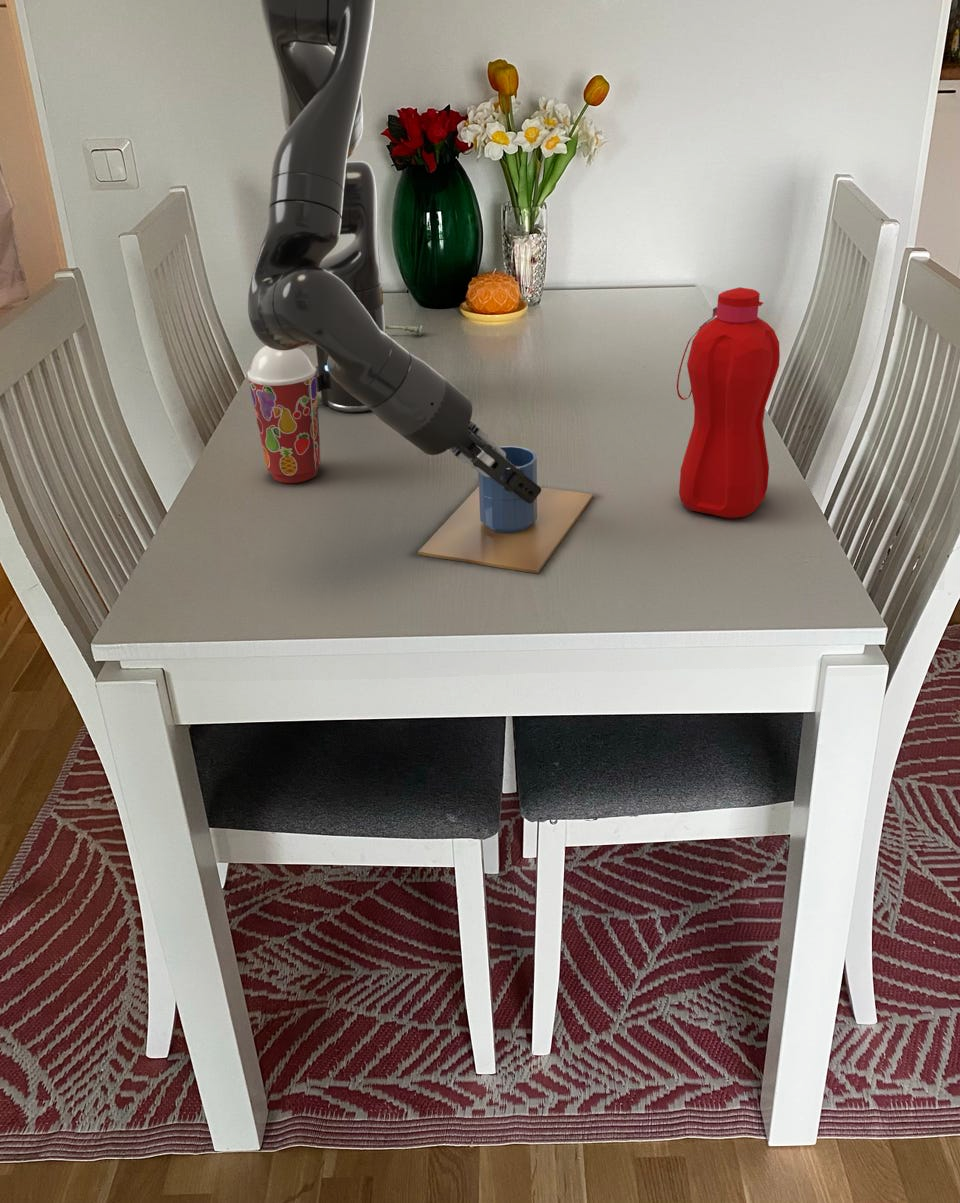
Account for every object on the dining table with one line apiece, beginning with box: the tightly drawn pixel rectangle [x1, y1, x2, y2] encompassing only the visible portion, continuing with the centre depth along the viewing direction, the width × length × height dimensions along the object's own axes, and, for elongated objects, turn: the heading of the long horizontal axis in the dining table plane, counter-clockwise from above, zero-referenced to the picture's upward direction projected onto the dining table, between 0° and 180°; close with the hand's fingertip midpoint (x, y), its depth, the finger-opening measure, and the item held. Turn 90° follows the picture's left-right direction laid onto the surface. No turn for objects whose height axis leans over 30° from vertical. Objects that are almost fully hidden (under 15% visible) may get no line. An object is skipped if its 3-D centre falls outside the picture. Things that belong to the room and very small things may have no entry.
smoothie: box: [246, 344, 322, 484], centre depth 141 cm, size 8×8×20 cm
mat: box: [417, 485, 594, 574], centre depth 132 cm, size 14×20×1 cm
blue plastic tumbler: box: [477, 445, 538, 532], centre depth 130 cm, size 6×6×8 cm
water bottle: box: [676, 286, 781, 520], centre depth 129 cm, size 9×11×25 cm
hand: (519, 481), depth 130 cm, fingers open, 8 cm apart
